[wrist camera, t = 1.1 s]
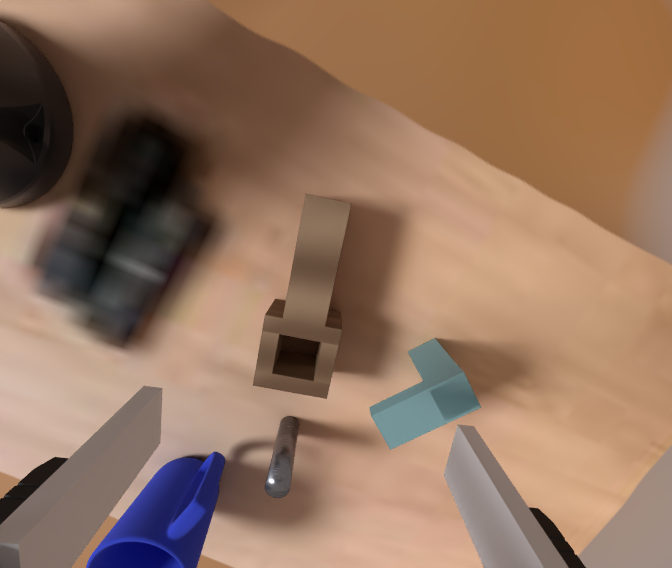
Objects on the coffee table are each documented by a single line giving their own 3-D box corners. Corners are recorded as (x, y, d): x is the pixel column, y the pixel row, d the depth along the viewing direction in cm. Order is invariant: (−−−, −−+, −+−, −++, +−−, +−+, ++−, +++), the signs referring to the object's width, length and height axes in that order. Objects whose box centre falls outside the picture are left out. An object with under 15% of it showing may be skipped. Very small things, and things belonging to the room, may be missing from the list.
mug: (265, 451, 35) (240, 545, 25) (199, 522, 37) (151, 635, 27) (203, 407, 34) (150, 487, 24) (137, 483, 35) (64, 586, 26)
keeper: (362, 371, 33) (371, 416, 26) (433, 336, 32) (463, 371, 25) (377, 398, 34) (390, 449, 26) (448, 364, 33) (481, 407, 26)
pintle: (276, 421, 34) (260, 483, 26) (293, 413, 34) (281, 473, 26) (286, 435, 34) (273, 501, 27) (302, 427, 34) (294, 491, 26)
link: (294, 193, 29) (286, 189, 24) (363, 208, 29) (369, 207, 25) (264, 359, 32) (252, 385, 28) (327, 371, 33) (326, 398, 28)
